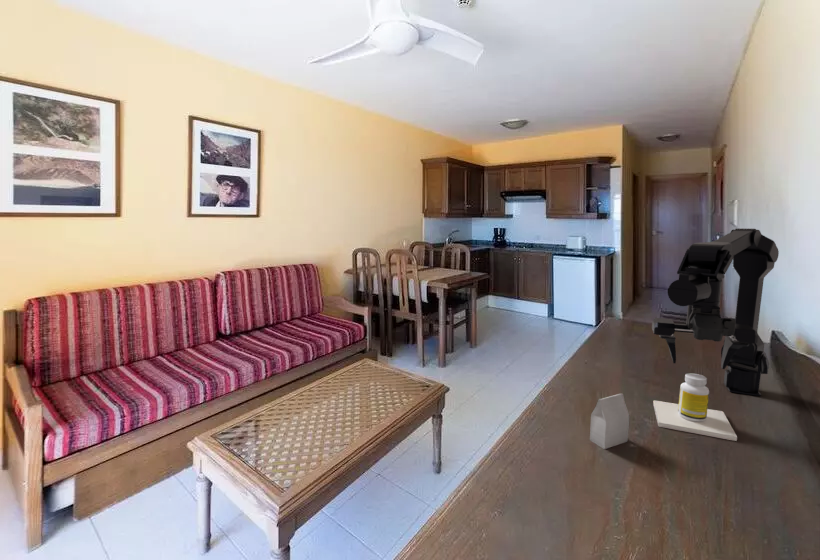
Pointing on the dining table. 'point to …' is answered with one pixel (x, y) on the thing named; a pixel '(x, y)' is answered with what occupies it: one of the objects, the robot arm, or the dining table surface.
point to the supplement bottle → (693, 398)
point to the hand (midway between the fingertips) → (698, 365)
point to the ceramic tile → (711, 426)
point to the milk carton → (609, 422)
